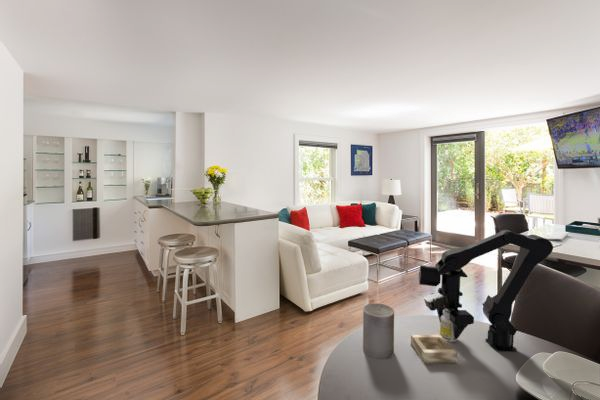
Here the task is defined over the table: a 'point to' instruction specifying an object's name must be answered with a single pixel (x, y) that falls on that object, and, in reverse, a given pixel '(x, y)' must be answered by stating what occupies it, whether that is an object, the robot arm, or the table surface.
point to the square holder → (433, 349)
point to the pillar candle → (378, 330)
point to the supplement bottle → (446, 327)
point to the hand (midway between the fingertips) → (448, 331)
